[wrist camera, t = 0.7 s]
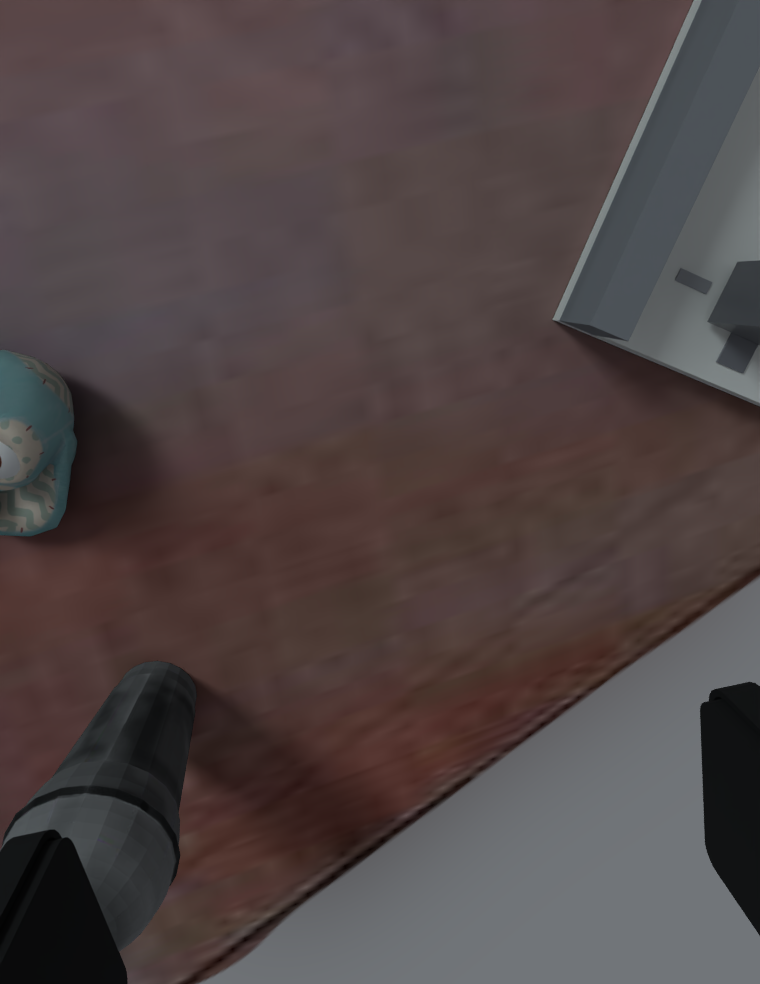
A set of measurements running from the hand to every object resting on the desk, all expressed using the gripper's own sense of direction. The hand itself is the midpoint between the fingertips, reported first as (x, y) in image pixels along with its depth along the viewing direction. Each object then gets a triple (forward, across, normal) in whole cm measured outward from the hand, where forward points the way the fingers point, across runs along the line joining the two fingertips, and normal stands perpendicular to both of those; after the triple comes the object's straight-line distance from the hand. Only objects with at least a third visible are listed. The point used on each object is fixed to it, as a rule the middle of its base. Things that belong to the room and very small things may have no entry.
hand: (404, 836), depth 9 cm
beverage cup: (+27, +14, +13) cm, 33 cm away
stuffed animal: (+27, +18, -4) cm, 33 cm away
